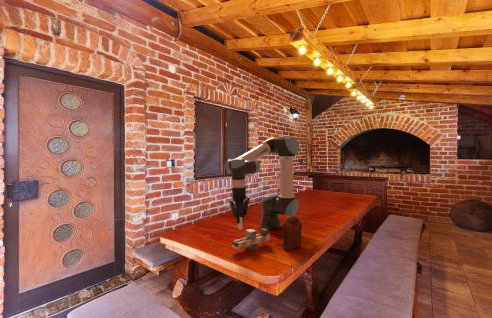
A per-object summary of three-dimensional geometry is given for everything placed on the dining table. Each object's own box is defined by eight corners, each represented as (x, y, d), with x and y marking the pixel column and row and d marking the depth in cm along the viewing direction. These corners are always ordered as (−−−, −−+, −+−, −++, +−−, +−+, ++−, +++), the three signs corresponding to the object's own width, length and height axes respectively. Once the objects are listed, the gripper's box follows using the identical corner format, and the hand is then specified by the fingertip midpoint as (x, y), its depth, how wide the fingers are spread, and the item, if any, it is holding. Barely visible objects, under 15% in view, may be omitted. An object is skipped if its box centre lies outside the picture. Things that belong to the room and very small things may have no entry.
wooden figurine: (295, 243, 152) (295, 213, 151) (302, 246, 147) (302, 216, 146) (280, 247, 146) (280, 216, 145) (287, 251, 141) (287, 219, 140)
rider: (250, 241, 142) (250, 232, 141) (245, 238, 146) (245, 230, 146) (256, 240, 144) (256, 231, 144) (251, 237, 148) (251, 228, 148)
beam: (237, 255, 136) (237, 238, 136) (231, 251, 141) (231, 235, 141) (270, 245, 149) (270, 230, 149) (264, 242, 154) (263, 227, 154)
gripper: (232, 189, 132) (233, 233, 134) (252, 186, 139) (253, 227, 141) (225, 187, 138) (226, 229, 140) (244, 184, 146) (246, 224, 147)
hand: (240, 228), depth 141 cm, fingers closed
